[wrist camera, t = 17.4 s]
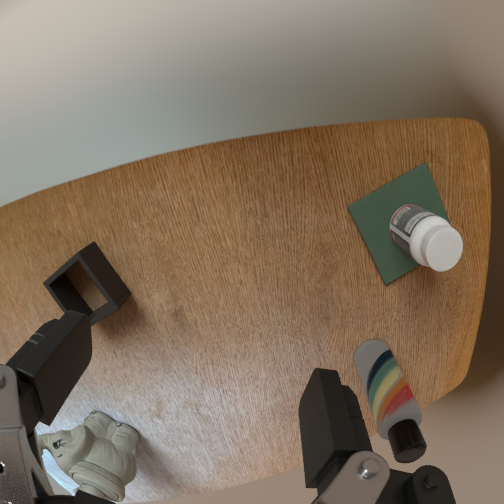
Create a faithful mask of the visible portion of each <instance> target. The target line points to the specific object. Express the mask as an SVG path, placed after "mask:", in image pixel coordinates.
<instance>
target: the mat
mask: <svg viewBox="0 0 504 504" xmlns="http://www.w3.org/2000/svg"><path fill="white" fill-rule="evenodd" d="M409 204H412V205H417V206H419V207H421V208H423V209H425V210H427V211H429V212H432V213H434V214H436V215H438V216H440V217H442V218H443V219H445V220H446V221H447V222H448V223H449V220H448V218H447V215H446V212H445V209H444V206H443V204H442V201H441V198H440V196H439V193H438V190H437V188H436V185H435V183H434V180H433V178H432V175H431V173H430V171H429V168H428V166H427V164H426V163H422V164H421V165H419V166H417V167H415V168H414V169H412V170H410V171H409V172H407V173H405V174H403V175H402V176H400V177H398V178H397V179H395V180H393V181H391V182H390V183H388V184H386V185H384V186H383V187H381V188H379V189H378V190H376V191H374V192H372V193H371V194H369V195H367V196H365V197H364V198H362V199H360V200H358V201H357V202H355V203H353V204H352V205H350V206H348V207H347V208H348V210H349V212H350V214H351V216H352V218H353V220H354V222H355V223H356V225H357V227H358V229H359V231H360V233H361V235H362V237H363V239H364V242H365V244H366V246H367V248H368V250H369V252H370V254H371V256H372V258H373V260H374V262H375V265H376V267H377V269H378V271H379V273H380V275H381V278H382V280H383V282H384V284H385V285H387V284H389V283H391V282H392V281H394V280H396V279H397V278H399V277H401V276H402V275H404V274H406V273H407V272H409V271H411V270H412V269H414V268H416V267H417V266H419V265H420V264H419V263H418V262H416V261H415V260H414V259H413V258H412V257H411V256H409V255H408V254H407V253H406V252H405V251H404V250H402V249H401V248H400V247H399V246H398V245H397V244H396V243H395V242H394V241H393V239H392V238H391V235H390V229H389V227H390V221H391V218H392V216H393V214H394V213H395V212H396V211H397V210H398V209H399V208H400V207H402V206H404V205H409ZM449 224H450V223H449Z"/></svg>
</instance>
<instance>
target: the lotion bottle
mask: <svg viewBox="0 0 504 504" xmlns="http://www.w3.org/2000/svg"><path fill="white" fill-rule="evenodd" d="M354 361H355V365H356V368H357V371H358V374H359V377H360V380H361V383H362V385H363V388H364V391H365V394H366V397H367V400H368V403H369V406H370V410H371V413H372V416H373V419H374V422H375V425H376V428H377V431H378V434H379V435H380V437H382V438H383V439H386V440H389V442H390V445H391V448H392V451H393V454H394V458H395V460H396V461H397V462H400V463H410V462H413V461H416V460H417V459H419V458H420V457H421V456H423V455H424V453H425V450H426V447H427V446H426V442H425V440H424V438H423V436H422V433H421V431H420V429H419V424H420V423H421V420H422V413H421V411H420V409H419V406H418V404H417V402H416V400H415V398H414V396H413V394H412V392H411V390H410V388H409V386H408V384H407V382H406V380H405V377H404V375H403V373H402V371H401V370H400V368H399V366H398V364H397V362H396V360H395V358H394V356H393V354H392V352H391V350H390V348H389V347H388V345H387V344H386V343H385V342H384V341H382V340H379V339H373V340H369V341H366V342H364V343H363V344H362V345H360V346H359V347H358V349H357V350H356V352H355V355H354Z"/></svg>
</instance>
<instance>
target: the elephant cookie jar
mask: <svg viewBox="0 0 504 504" xmlns="http://www.w3.org/2000/svg"><path fill="white" fill-rule="evenodd" d="M37 438H38V443H39V447H40V451H41V456H42V455H43V449H47V450H48V451H49V452H50V453H51V454H52V456H53V457H54V459H55V461H56V463H57V465H58V466H59V467H60V468H61V470H62V471H64V472H65V473H66V474H67V475H68V476H69V477H71V478H72V479H73V480H74V481H75V482H76V483H77V484H79V485H80V487H78V488H76V489H74V490H73V491H74V492H75V493H76V492H77V490H78V489H80V490H82V491H85V492H87V493H90V494H92V495H95V496H97V497H100V498H103V499H106V500H107V499H108V500H111V501H116V502H121V501H123V499H124V497H125V486H126V485H127V484H128V483H130V482H131V481H132V480H133V479H134V478H135V476H136V471H137V467H136V457H137V454H136V447H137V443H138V440H139V434H138V433H137V432H136V431H135V430H134V429H133V428H131V427H129V426H128V425H125V424H122V423H119V422H115V421H113V420H112V419H111V418H109V417H108V416H107V415H105V414H103V413H101V412H98V411H93V412H91V413H90V416H88V417H86V418H85V420H84V423H83V424H82V425H79V426H78V427H76V428H74V429H72V430H69V431H67V430H61V431H58V432H56V433H47V434H42V435H39V436H37Z"/></svg>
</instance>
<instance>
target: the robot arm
mask: <svg viewBox="0 0 504 504" xmlns="http://www.w3.org/2000/svg"><path fill="white" fill-rule="evenodd" d="M91 357H92V337H91V321H90V317H89V316H88V315H85V314H82V313H79V312H76V311H73V310H68V311H67V312H66V313H65V314H64V315H63V316H62V317H61V318H60V319H59V320H57V319H53V320H51V321H49V322H47V323H45V324H43V325H42V326H41V327H40V328H39V329H38V330H37V331H36V332H35V334H33V335H32V336H31V337H30V338H29V341H27V342H26V343H25V344H24V345H23V346H22V347H21V348H20V349H19V350H18V351H17V352H16V353H15V354H14V356H13V357H12V358H11V359H10V360H9V361H8V362H7V363H6V364H5V365H4V364H0V504H115V503H114V502H111V501H108V500H106V499H103V498H100V497H97V496H95V495H92V494H90V493H87V492H85V491H82V490H80V489H78V490H77V492H76V494H75V496H70V495H54V492H53V489H52V487H51V485H50V482H49V480H48V478H47V475H46V471H45V468H44V464H43V460H42V456H41V451H40V447H39V443H38V438H37V433H36V429H35V427H36V425H37V423H38V422H39V421H40V422H42V423H44V424H46V425H48V426H50V425H51V423H52V421H53V420H54V418H55V416H56V415H57V413H58V412H59V410H60V408H61V407H62V405H63V404H64V402H65V400H66V399H67V397H68V396H69V394H70V392H71V391H72V389H73V388H74V386H75V385H76V383H77V382H78V380H79V379H80V377H81V375H82V374H83V372H84V371H85V369H86V368H87V366H88V365H89V363H90V360H91ZM362 417H363V416H362V412H361V410H360V406H359V403H358V399H357V396H356V395H355V394H354V393H353V391H352V390H351V389H350V388H349V386H345V385H341V381H340V377H339V374H338V372H337V371H336V370H329V369H321V368H315V369H314V371H313V373H312V375H311V377H310V380H309V382H308V384H307V386H306V388H305V391H304V393H303V395H302V397H301V400H300V404H299V422H300V432H301V441H302V451H303V462H304V472H305V483H306V488H317V492H318V496H317V497H316V498H315V499H314V500H313V502H312V503H311V504H456V502H455V499H454V496H453V493H452V490H451V487H450V484H449V481H448V478H447V476H446V475H445V474H444V472H443V471H442V470H440V469H439V468H437V467H435V466H431V465H425V466H422V467H420V468H418V469H417V470H416V471H415V472H414V473H413V474H412V473H407V472H402V471H398V470H393V469H390V468H389V465H388V463H387V462H386V460H385V459H384V458H383V457H381V456H380V455H378V454H376V453H374V452H373V450H372V447H371V443H370V439H369V436H368V432H367V429H366V426H365V422H364V419H362Z"/></svg>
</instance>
